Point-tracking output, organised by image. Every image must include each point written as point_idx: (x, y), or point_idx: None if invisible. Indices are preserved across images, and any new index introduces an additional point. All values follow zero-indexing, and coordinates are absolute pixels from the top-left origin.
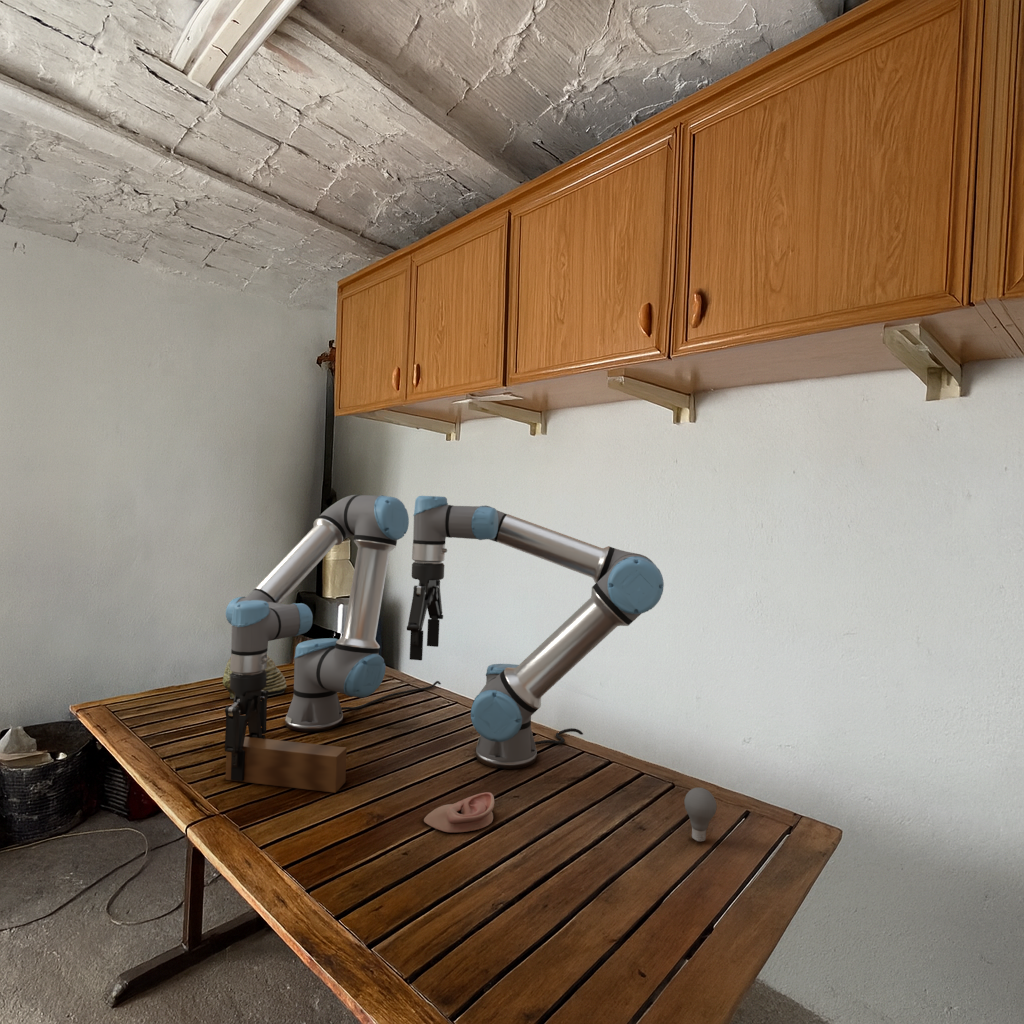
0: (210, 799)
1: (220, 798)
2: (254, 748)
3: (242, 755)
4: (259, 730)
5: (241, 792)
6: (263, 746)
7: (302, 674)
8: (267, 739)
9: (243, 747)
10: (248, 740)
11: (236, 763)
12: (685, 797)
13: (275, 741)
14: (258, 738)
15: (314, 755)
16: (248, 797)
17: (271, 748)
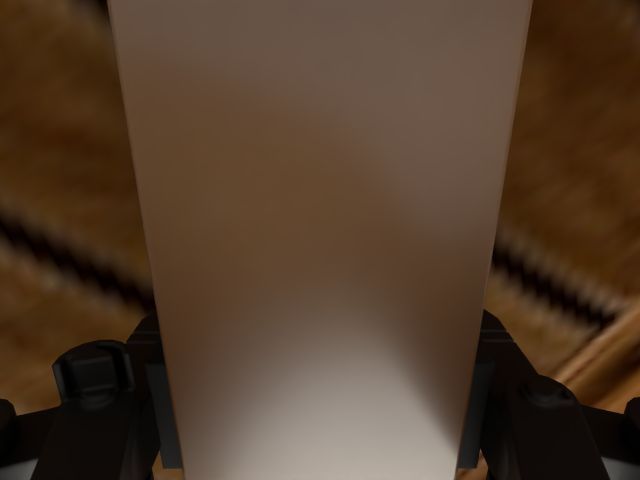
0: (629, 289)
1: (617, 246)
2: (483, 275)
3: (480, 343)
4: (87, 475)
5: (532, 173)
6: (428, 185)
7: None
8: (170, 264)
9: (461, 404)
10: (283, 449)
11: (503, 333)
12: None
13: (192, 106)
14: (184, 384)
15: None
16: (602, 87)
17: (493, 5)
